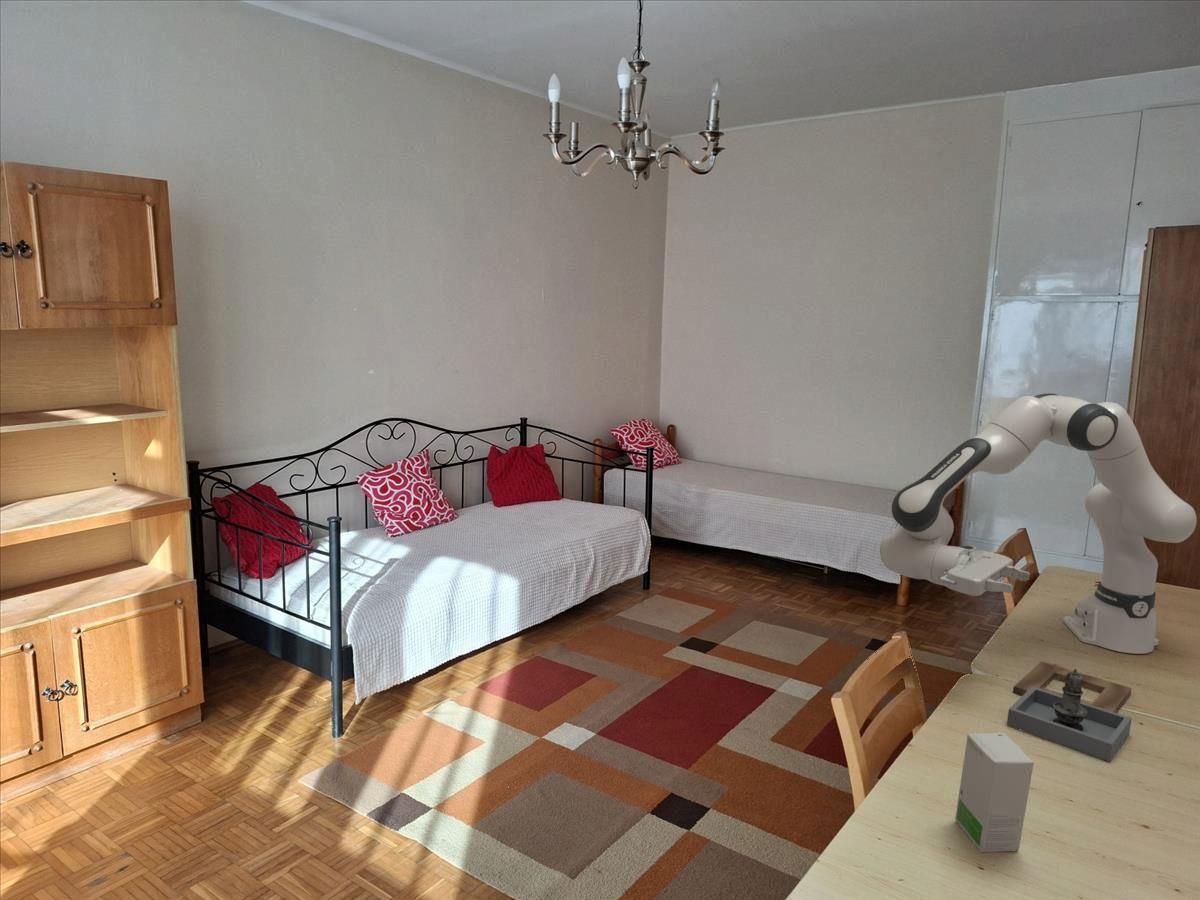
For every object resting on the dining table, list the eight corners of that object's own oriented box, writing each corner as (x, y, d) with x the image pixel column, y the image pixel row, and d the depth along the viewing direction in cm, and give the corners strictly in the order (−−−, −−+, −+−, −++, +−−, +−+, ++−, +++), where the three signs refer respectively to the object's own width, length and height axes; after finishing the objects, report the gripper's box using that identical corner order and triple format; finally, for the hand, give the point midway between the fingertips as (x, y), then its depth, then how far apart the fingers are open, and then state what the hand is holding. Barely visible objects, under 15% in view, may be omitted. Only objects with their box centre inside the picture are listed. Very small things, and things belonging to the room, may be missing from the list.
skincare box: (954, 820, 134) (964, 731, 131) (993, 818, 134) (1004, 730, 131) (981, 855, 125) (993, 761, 123) (1023, 853, 126) (1035, 760, 123)
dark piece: (1089, 735, 159) (1097, 677, 157) (1056, 730, 161) (1063, 673, 158) (1079, 720, 165) (1087, 663, 163) (1047, 716, 166) (1054, 660, 164)
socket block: (1012, 692, 178) (1013, 686, 177) (1040, 667, 190) (1041, 661, 190) (1108, 724, 165) (1109, 717, 165) (1130, 694, 178) (1131, 688, 178)
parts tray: (1006, 725, 164) (1008, 708, 163) (1030, 701, 174) (1032, 686, 173) (1109, 762, 152) (1112, 744, 151) (1129, 734, 161) (1131, 717, 161)
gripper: (934, 564, 173) (1003, 580, 163) (972, 543, 187) (1038, 557, 178) (932, 593, 174) (1000, 610, 165) (969, 570, 189) (1035, 585, 179)
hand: (1020, 582), depth 171 cm, fingers open, 8 cm apart
